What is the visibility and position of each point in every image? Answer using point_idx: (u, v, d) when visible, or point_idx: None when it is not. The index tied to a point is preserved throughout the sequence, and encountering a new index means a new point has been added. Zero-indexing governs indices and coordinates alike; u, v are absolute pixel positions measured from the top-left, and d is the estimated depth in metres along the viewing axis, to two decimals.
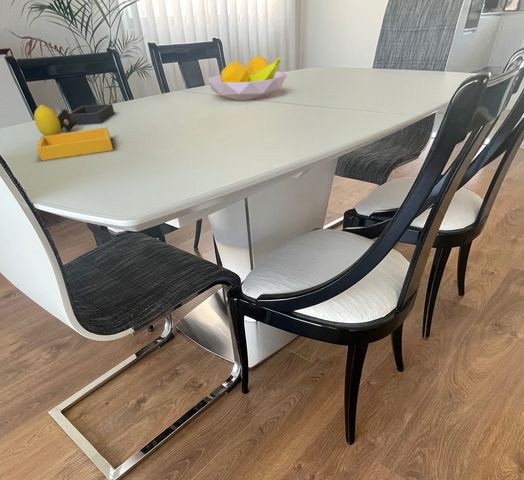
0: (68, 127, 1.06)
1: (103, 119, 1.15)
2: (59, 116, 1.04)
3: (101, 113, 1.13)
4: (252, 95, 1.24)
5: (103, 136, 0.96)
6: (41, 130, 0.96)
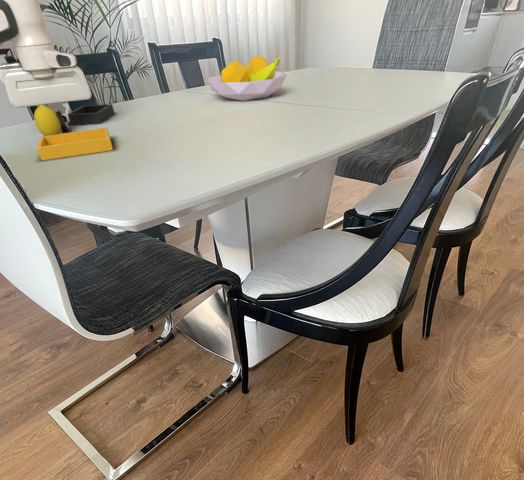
0: (61, 129, 1.05)
1: (103, 119, 1.15)
2: None
3: (101, 113, 1.13)
4: (252, 95, 1.24)
5: (103, 136, 0.96)
6: (41, 130, 0.96)
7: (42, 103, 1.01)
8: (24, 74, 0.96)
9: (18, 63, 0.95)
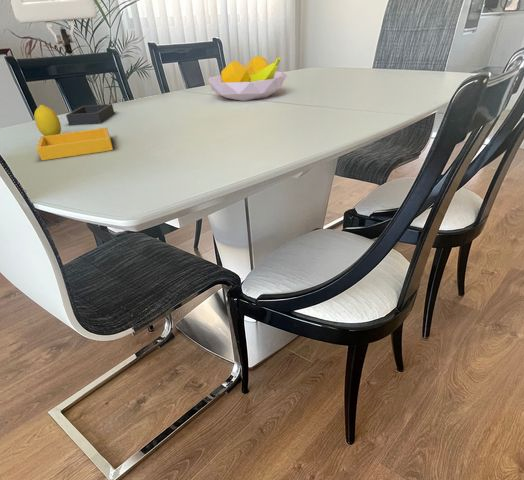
0: (66, 49, 1.04)
1: (103, 119, 1.15)
2: None
3: (101, 113, 1.13)
4: (252, 95, 1.24)
5: (103, 136, 0.96)
6: (41, 130, 0.96)
7: (47, 19, 0.99)
8: None
9: None
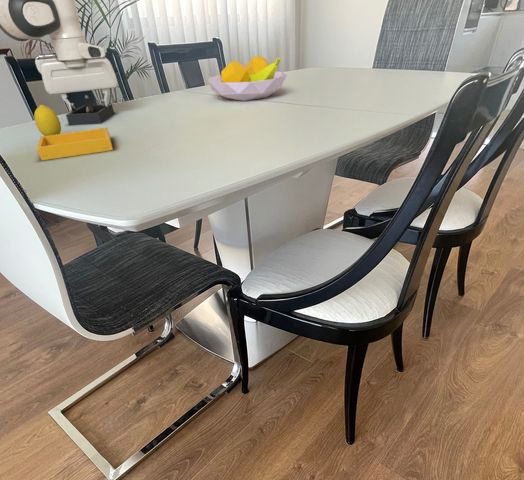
0: None
1: (103, 119, 1.15)
2: (86, 103, 1.15)
3: (101, 113, 1.13)
4: (252, 95, 1.24)
5: (103, 136, 0.96)
6: (41, 130, 0.96)
7: (73, 90, 1.11)
8: (59, 64, 1.07)
9: (54, 54, 1.06)
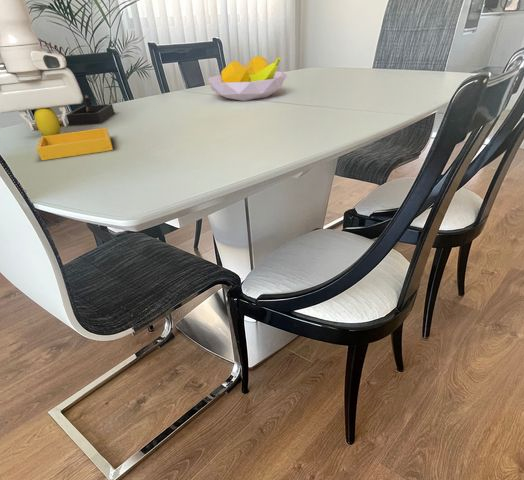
0: None
1: (103, 119, 1.15)
2: (86, 103, 1.15)
3: (101, 113, 1.13)
4: (252, 95, 1.24)
5: (103, 136, 0.96)
6: (41, 130, 0.96)
7: (29, 108, 0.93)
8: (9, 76, 0.88)
9: (2, 64, 0.87)
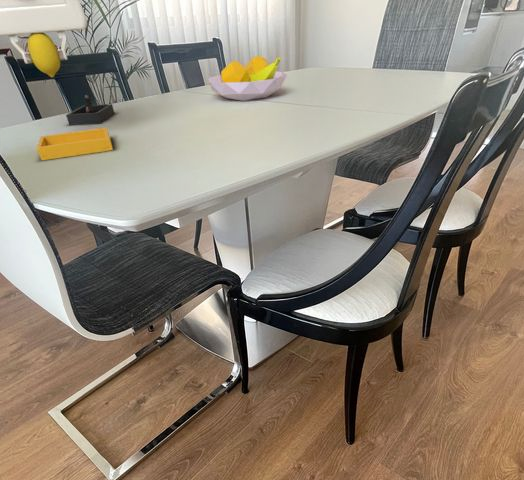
0: None
1: (103, 119, 1.15)
2: (86, 103, 1.15)
3: (101, 113, 1.13)
4: (252, 95, 1.24)
5: (103, 136, 0.96)
6: (36, 62, 0.79)
7: (21, 32, 0.76)
8: None
9: None
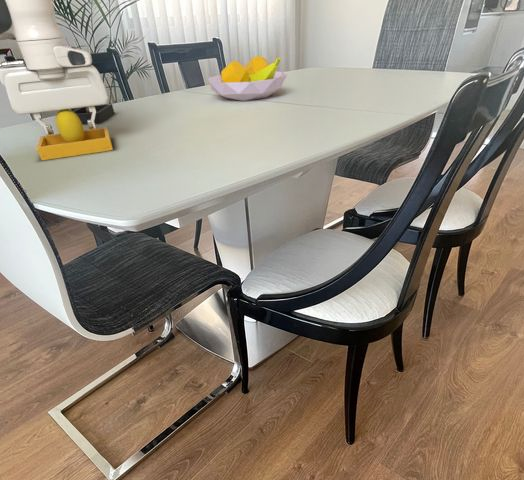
0: None
1: (103, 119, 1.15)
2: None
3: (101, 113, 1.13)
4: (252, 95, 1.24)
5: (103, 136, 0.96)
6: (63, 135, 0.88)
7: (50, 109, 0.84)
8: (29, 74, 0.79)
9: (22, 61, 0.79)
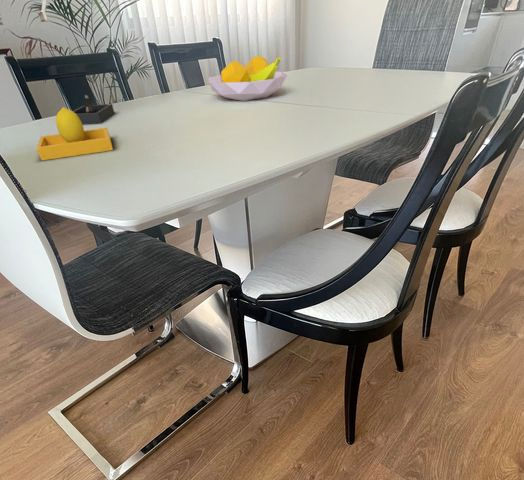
0: None
1: (103, 119, 1.15)
2: (86, 103, 1.15)
3: (101, 113, 1.13)
4: (252, 95, 1.24)
5: (103, 136, 0.96)
6: (63, 135, 0.88)
7: None
8: None
9: None
